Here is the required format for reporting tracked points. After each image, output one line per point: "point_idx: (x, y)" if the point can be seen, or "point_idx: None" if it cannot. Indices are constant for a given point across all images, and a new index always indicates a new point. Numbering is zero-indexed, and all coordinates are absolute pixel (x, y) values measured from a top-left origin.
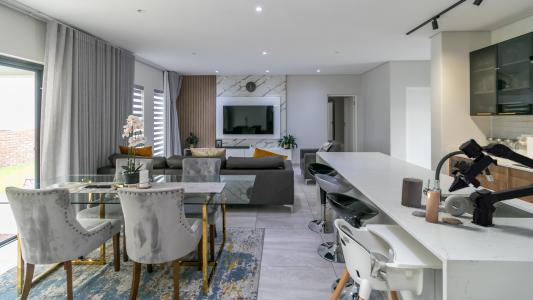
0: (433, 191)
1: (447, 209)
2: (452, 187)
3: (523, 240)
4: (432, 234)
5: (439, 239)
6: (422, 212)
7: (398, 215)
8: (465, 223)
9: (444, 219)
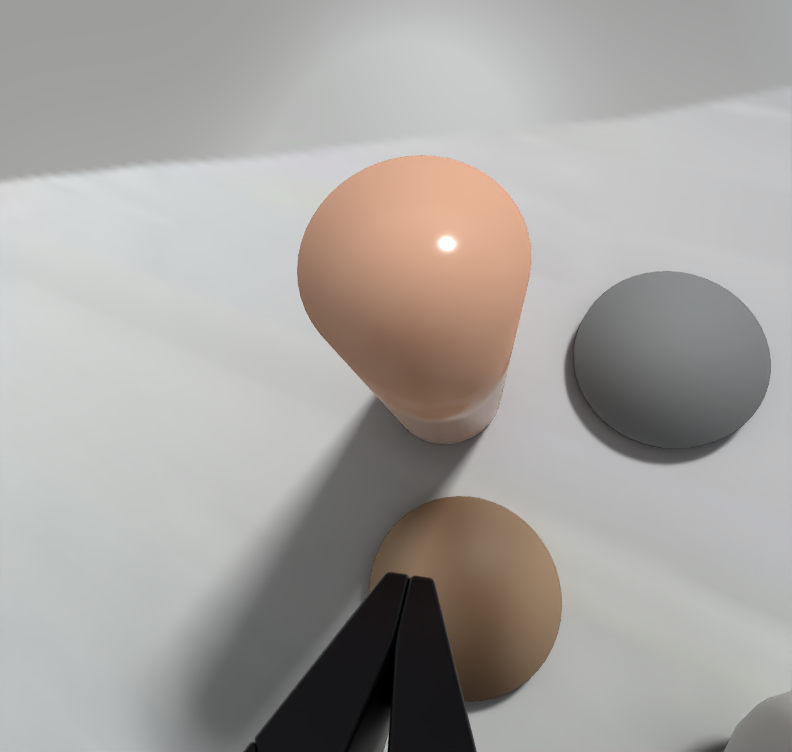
0: (478, 279)
1: (762, 704)
2: (317, 670)
3: None
4: (112, 267)
5: (22, 278)
6: (726, 390)
7: (592, 143)
8: None
9: (475, 526)
